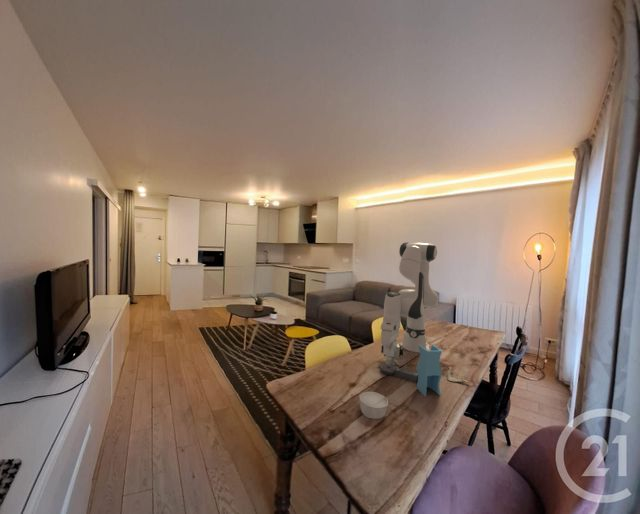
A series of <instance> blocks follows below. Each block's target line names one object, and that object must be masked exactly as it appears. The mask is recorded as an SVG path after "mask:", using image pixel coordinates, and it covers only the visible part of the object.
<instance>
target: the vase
mask: <svg viewBox="0 0 640 514" xmlns="http://www.w3.org/2000/svg"><path fill="white" fill-rule="evenodd" d="M430 346H431V347H430V349H429V350H426V349H425V348H423V347H422V346H420V345H418V347H419V352H418V353H419V359H418V363H417V364H416V373H418V382H416V389H417V390H418V391H419V392H420V393H421V394H422V396H424V397H426V396H427V388H429V389H431V390H433V391H434V392H435V393H436V394H437V395H439V396H441V391H440V383H441V382H440V381H441V379H442V376H443V373H442V369H441V364H440V359H441V355H442V352H443V350H442V349H441V348H439V347H437V346H435V345H434V344H431V345H430Z"/></svg>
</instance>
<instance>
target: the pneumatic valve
mask: <svg viewBox="0 0 640 514" xmlns="http://www.w3.org/2000/svg"><path fill="white" fill-rule="evenodd" d="M400 344H401V343H397V351H396V355H395V356H394V357H392V356H388V355H384V354H383V348H384V345H382V344H381V350H380V352H381V354H383V357H386V358H387V357H391V358H393V359H392V364H395V365H396V364H397V359H401V356H404V348H403V347H402V346H400Z"/></svg>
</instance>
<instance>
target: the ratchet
mask: <svg viewBox="0 0 640 514" xmlns="http://www.w3.org/2000/svg"><path fill="white" fill-rule="evenodd" d="M392 359H393V358H391V357H387V356H386V359H385V362H382V363H381V364H380V373H381V374H382V375H385V376H388V377H398V378H401V379H405V380H409V381H412V382H416V383H418V373H417V371H412V370H407V369H404V368H400V367H398V366H397V365H396V364H392Z"/></svg>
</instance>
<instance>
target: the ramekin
mask: <svg viewBox="0 0 640 514" xmlns="http://www.w3.org/2000/svg"><path fill="white" fill-rule="evenodd" d="M358 397H359V400H358V401H359V407H360V411H361V413H362V414H363V416H365V417H366V418H369V419H372V420H379V419H382V418H384V417H385V415H386V413H387V409H388V407H389V400H388V398H386V396H385V395H384V394H381V393H378V392H375V391H364V392H362V393H360V394H359V396H358Z"/></svg>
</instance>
